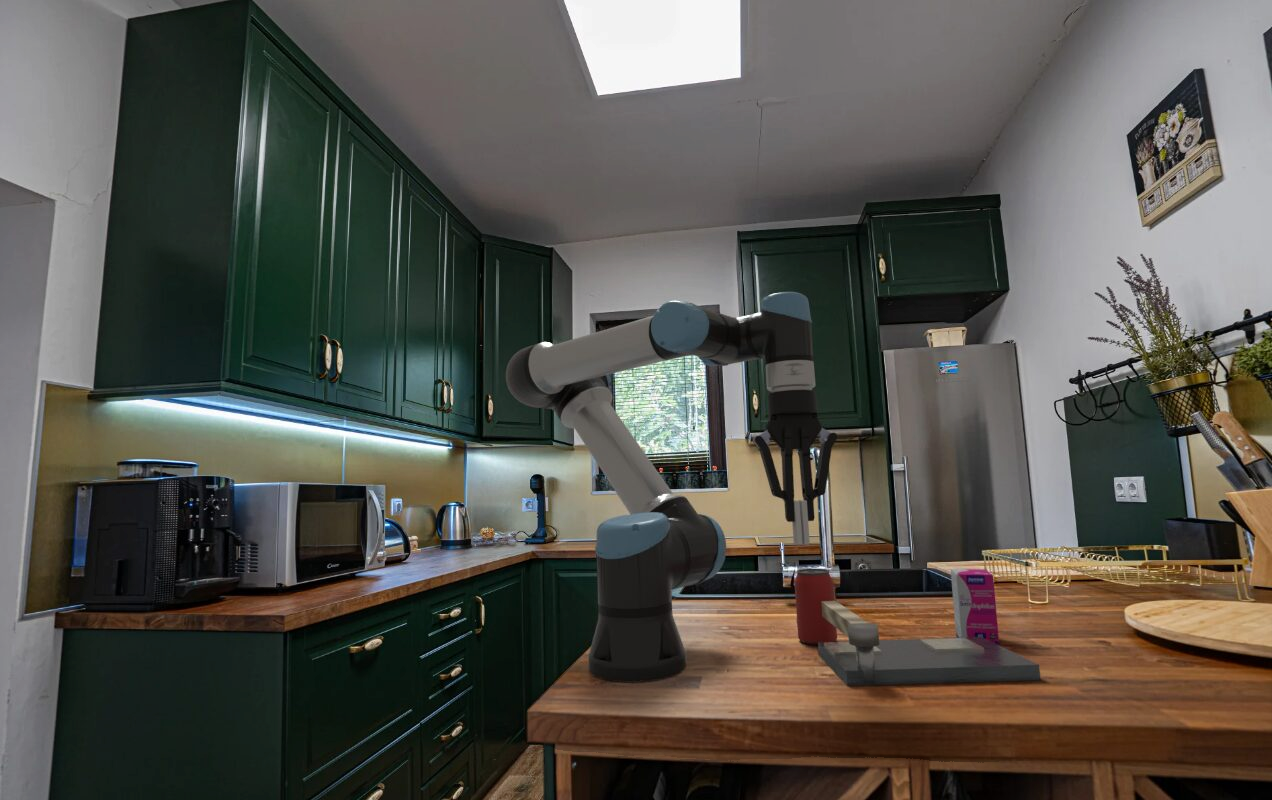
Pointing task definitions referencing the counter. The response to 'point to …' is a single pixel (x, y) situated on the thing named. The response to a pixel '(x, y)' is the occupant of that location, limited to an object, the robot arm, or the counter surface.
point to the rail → (850, 624)
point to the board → (930, 662)
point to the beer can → (813, 606)
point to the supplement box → (974, 604)
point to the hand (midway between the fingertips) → (801, 543)
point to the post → (866, 663)
